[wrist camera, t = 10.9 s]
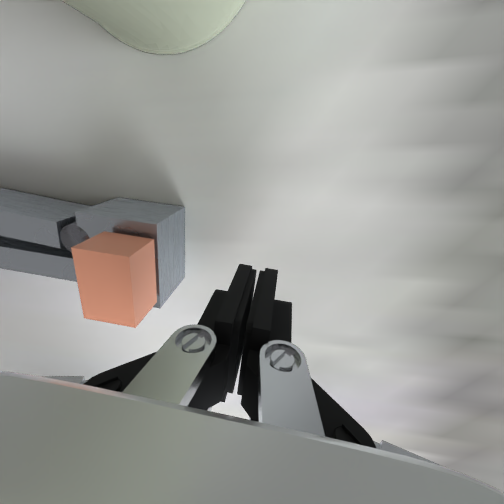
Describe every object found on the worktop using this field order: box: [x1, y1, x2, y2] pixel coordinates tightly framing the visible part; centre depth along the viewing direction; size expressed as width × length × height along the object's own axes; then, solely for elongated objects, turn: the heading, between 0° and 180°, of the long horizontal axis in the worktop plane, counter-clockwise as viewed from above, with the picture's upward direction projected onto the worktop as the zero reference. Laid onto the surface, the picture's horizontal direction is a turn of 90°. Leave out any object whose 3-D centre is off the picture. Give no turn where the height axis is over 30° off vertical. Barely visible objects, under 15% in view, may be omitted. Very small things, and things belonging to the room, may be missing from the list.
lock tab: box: [71, 231, 157, 328], centre depth 12 cm, size 2×3×2 cm
